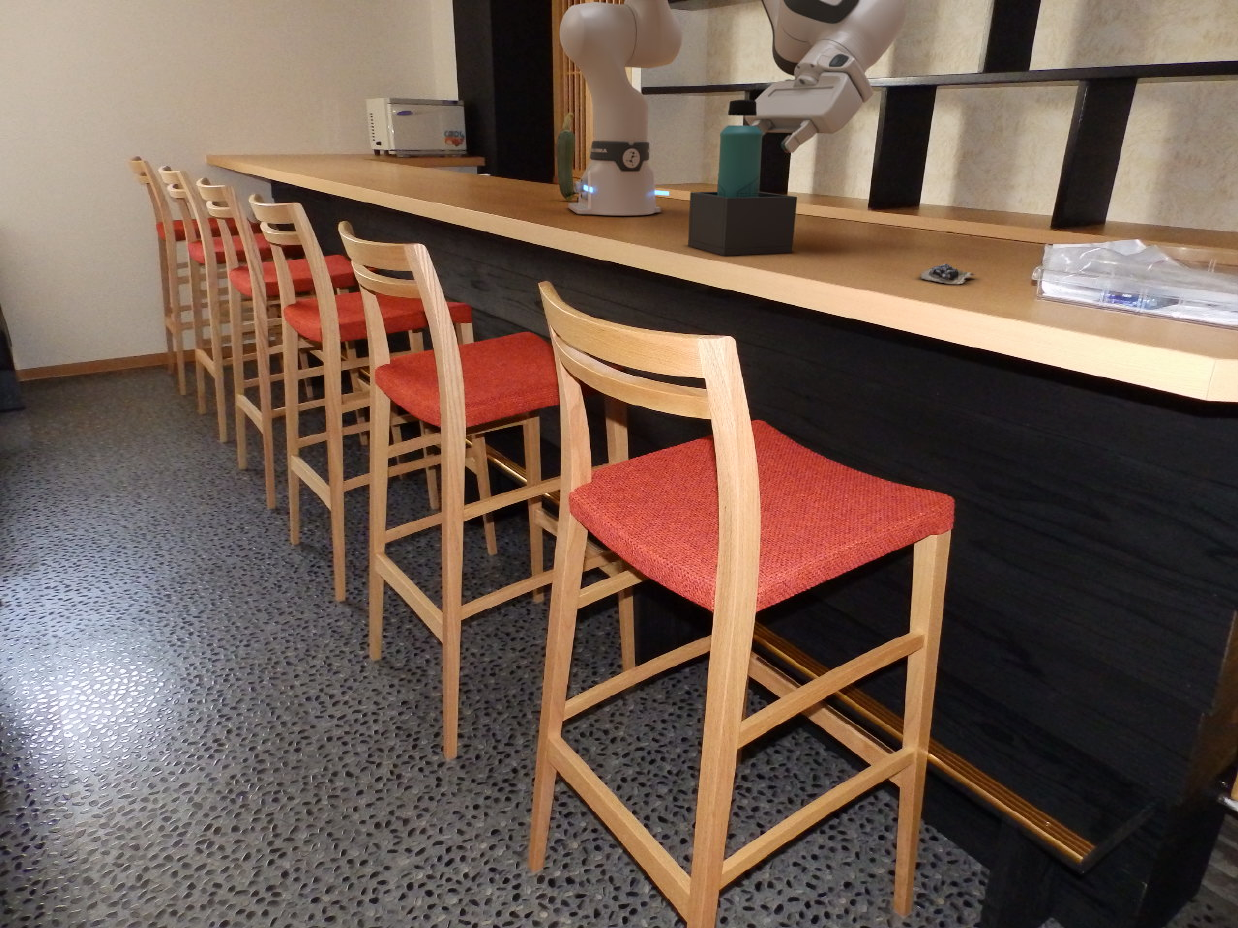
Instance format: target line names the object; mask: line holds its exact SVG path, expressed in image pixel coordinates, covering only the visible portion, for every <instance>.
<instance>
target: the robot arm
mask: <svg viewBox="0 0 1238 928" xmlns="http://www.w3.org/2000/svg"><path fill="white" fill-rule="evenodd" d="M760 1H761V4H762V5H763V8H764V11H765V14H766V16H767V18H768V22H769V24H770V28H771V33H772V42H771V43H772V45H771V52H772V54H771V55H772V58H773V61H774V63H775V65H776V66H777V67H778V69H780V71H782V72H783V73H785V74H787V75H789V76H792V77H794V79H788V78H787V79H785V80H779V81H776V82H773V83H772V84H771V85H769V86H767V88H766V89H765V90H764V91H763V92H762V93H761V94H759V96H758V97H757V98H756V99H754V101H756V110H757V116H744V120H745V121H746V122H747V124H748V126H757V127H758V128H759V129H760V130H761V132H762V133H763V136H765V135H766V134H767V133H783V134H784V133H785V134H786V133H787V134H789V135H787V136H786V137H785V138H784V139H783V140H782V142H781V143H780V147H781V149H782V150H783V151H784V153H787V154H788V153H789V154H794V153H795V152H796V151H797V149H798V148H799V147H800V146H802V145H803V144H804V143H807V142H808V141H809V140H811V139H812V138H814V136H815V135H816V134H827V135H828V134H829V135H833V134H835V133H837V132H839V131H840V130H842V129H843V128H844V127H845V126H846V125H848V123H849V122H850V121H851V120H852V119H853V117H854V116H855V115H856V114H857V113H858V112H859V110H860V108H862V105H863V104H865V103H867V102H868V101H869V100H870V99H871V98H872V96H873V95H874V93H875V92H874V90H873V87H872V85H871V83H870V81H869V79H868V77H867V75H866V72H867V71H868V70H869V69H870V68H871V67H873V66H874V65H875V64H877V63H878V62H879V60H880V59H881V58H882V57H883V56H884V55H885V54H886V51H888V49H889V48H890V46H891V45H892V44H893V42H895V40H896V38H897V36H898V35H899V33H900V32H901V30H902V27H903V26H904V23H905V19H906V4H905V0H760ZM559 41H560V45H561V47H562V50H563V52H564V54H565V56H566V57H567V58H568V59H569V60H570V61H571V62H572V63H573V64H574V65H575V66H576V67H577V68H578V70H579V72H580V73H581V74H582V77H583V78H584V80H585V82H586V85H587V87H588V91H589V93H590V98H591V105H592V120H593V121H592V122H593V140H592V141H591V144H590V145H591V146H590V148H589V149H590V150H589V159H590V161H589V163H588V165H587V167H586V169H585V170H584V172H583V174H582V176H581V178H580V179H579V180H576V181H574V182H573V188H574V193H573V196H575V195H578V196H577V197H576V200H577V201H578V202H571V203H570V202H569V203H568V204H567V205H568V206H567V208H568V209H569V210H570V211H572V212H574V213H575V214H577V215H596V216H597V215H598V216H646V215H652V214H656V213H661V212H662V211H661V207H660V206H656V196H670V191H669V190H668V191H667V190H658V189H657V190H656V184H655V183H656V182H655V181H656V180H655V172H654V170H653V169H652V168H651V167H650V165H649V162H648V161H649V160H650V153H651V149H650V143H649V141H648V133H649V131H648V128H649V125H648V124H649V104H648V103H649V102H648V101H647V99H646V97H645V95H644V94H643V93H641V91H639V90H638V89H636V88H635V87H634V86H633V85H632V83H631V82H630V80H629V78H628V75H627V71H626V68H634V69H635V68H636V69H653V68H659V67H663V66H667V65H670V64H672V63H673V62H674V61H675V60H676V59H677V57H678V55H679V53H680V51H681V47H682V43H683V30H682V26H681V23H680V21H679V19H678V17H677V16H676V14H674V12H673V11H672V8H671V6H670V4H669V1H668V0H624V2H623V3H622V4H620V3H610V2H601V1H592V2H583V3H578V4H573V5H571V6H569V7H568V9H567V10H566V11H565V13H564V14H563V16H562V19H561V21H560V24H559ZM790 134H791V135H790Z"/></svg>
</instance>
